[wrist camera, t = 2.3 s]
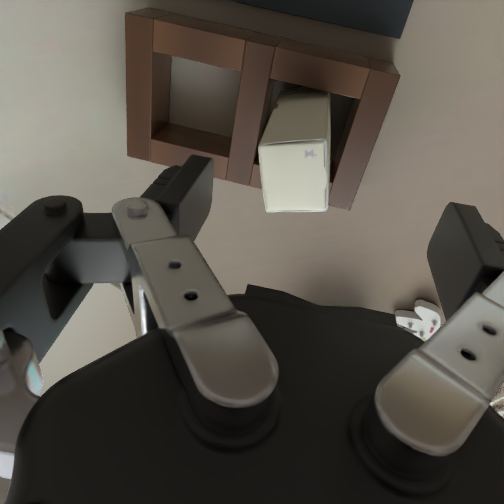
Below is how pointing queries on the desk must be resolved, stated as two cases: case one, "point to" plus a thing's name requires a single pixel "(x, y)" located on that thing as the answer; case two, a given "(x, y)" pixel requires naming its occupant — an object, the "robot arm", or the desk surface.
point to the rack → (246, 95)
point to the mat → (347, 12)
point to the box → (297, 152)
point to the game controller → (420, 319)
